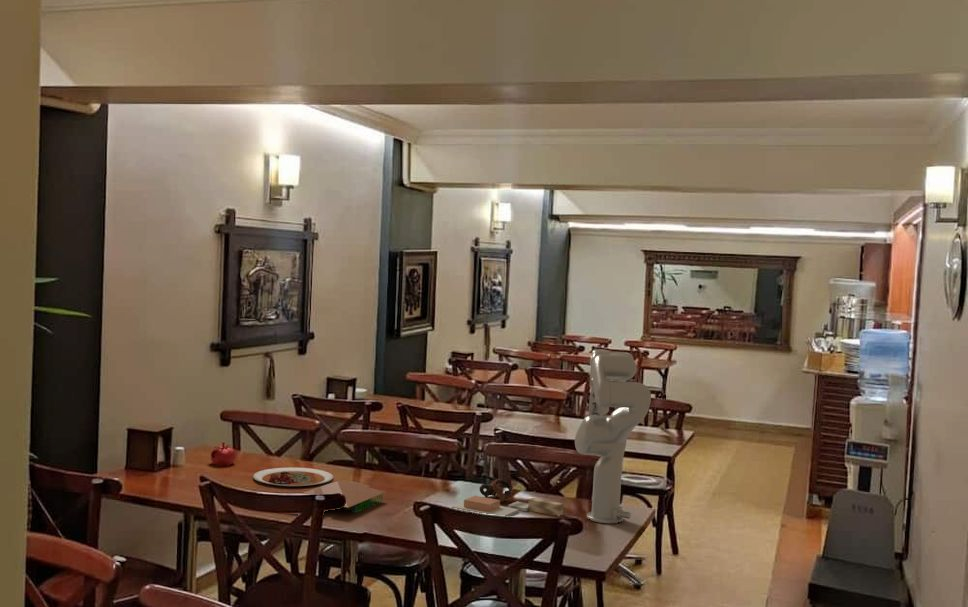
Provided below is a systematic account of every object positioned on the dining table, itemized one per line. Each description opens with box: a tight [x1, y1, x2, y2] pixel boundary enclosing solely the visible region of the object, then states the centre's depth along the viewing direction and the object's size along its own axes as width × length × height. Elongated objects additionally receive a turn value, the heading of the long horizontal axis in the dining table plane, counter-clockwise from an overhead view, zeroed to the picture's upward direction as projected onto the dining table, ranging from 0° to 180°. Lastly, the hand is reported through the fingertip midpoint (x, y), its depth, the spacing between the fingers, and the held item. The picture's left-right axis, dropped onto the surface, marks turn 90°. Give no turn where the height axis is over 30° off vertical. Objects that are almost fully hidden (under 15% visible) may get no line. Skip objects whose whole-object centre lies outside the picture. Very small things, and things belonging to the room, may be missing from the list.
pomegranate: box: [210, 441, 237, 467], centre depth 370 cm, size 10×10×9 cm
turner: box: [507, 497, 564, 517], centre depth 324 cm, size 19×7×4 cm, turn 61°
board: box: [451, 501, 519, 517], centre depth 320 cm, size 20×12×1 cm, turn 62°
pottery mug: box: [479, 478, 513, 503], centre depth 336 cm, size 12×9×8 cm
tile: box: [463, 495, 501, 512], centre depth 321 cm, size 3×8×10 cm
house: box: [300, 479, 386, 514], centre depth 319 cm, size 23×33×8 cm
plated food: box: [252, 467, 334, 487], centre depth 352 cm, size 30×30×3 cm
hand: (596, 429), depth 337 cm, fingers open, 9 cm apart
